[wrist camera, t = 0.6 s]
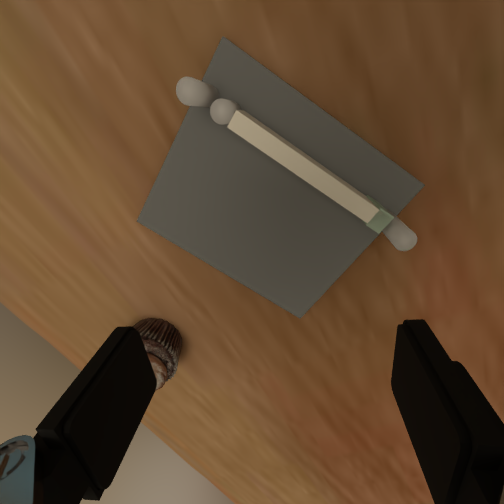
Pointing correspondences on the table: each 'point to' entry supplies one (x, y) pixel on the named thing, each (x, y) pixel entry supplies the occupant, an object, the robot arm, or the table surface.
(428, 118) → the table surface
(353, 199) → the bar
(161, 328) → the cupcake
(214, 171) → the gate base
